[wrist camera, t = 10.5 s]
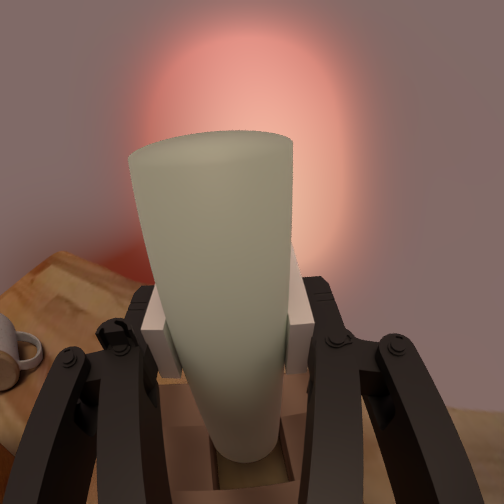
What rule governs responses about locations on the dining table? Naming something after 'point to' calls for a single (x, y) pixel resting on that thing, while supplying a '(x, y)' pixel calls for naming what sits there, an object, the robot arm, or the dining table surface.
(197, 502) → the socket block
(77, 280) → the dining table surface
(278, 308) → the peg
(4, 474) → the disposable coffee cup
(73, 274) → the dining table surface
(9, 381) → the ceramic mug
